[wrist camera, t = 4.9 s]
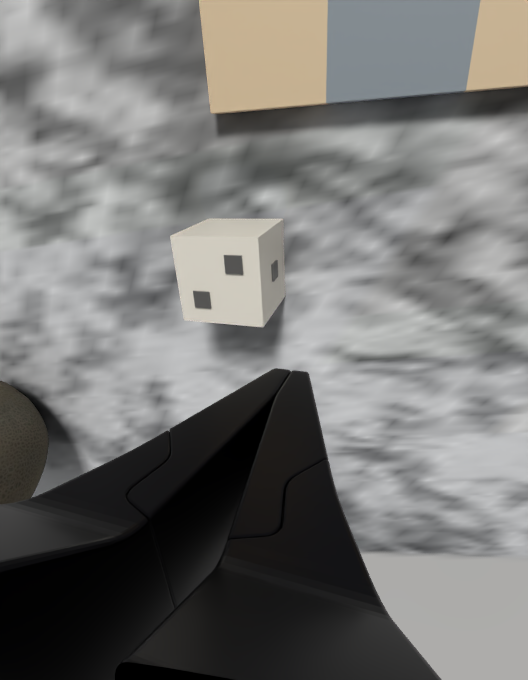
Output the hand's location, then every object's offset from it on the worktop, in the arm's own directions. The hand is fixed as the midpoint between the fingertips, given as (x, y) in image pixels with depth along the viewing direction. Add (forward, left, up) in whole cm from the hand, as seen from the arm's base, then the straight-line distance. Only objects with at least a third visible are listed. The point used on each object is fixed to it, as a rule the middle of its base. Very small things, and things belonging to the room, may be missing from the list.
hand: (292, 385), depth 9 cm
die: (+5, 0, -11) cm, 12 cm away
